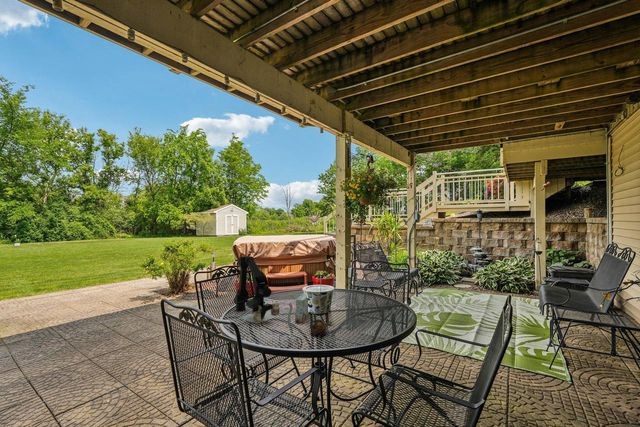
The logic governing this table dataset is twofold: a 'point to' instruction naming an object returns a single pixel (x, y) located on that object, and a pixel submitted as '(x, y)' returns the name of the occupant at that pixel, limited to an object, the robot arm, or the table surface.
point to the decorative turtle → (318, 327)
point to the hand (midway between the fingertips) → (259, 318)
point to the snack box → (301, 309)
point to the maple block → (257, 316)
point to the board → (250, 318)
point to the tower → (275, 309)
